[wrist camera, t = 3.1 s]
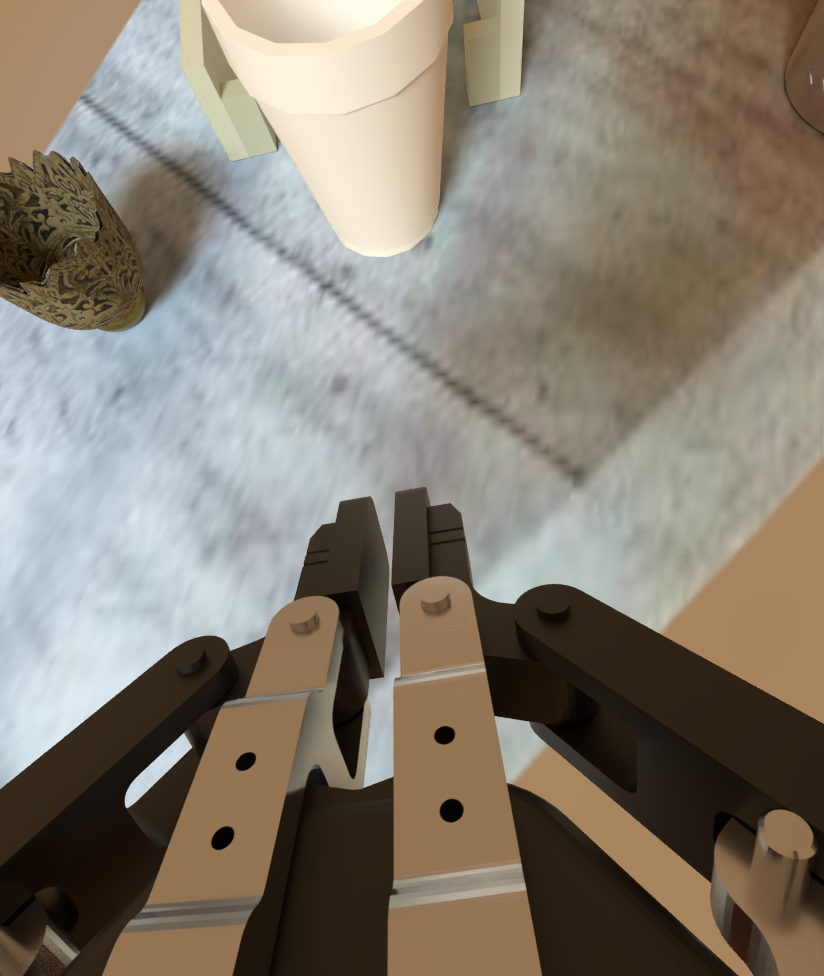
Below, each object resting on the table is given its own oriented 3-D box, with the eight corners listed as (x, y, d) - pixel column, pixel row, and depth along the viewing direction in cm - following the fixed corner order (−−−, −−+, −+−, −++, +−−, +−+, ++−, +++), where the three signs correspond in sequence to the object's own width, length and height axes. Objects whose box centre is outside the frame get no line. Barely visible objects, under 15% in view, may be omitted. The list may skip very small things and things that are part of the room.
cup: (89, 249, 36) (-19, 142, 28) (197, 261, 35) (114, 152, 27) (47, 358, 34) (-81, 275, 27) (159, 375, 33) (58, 292, 25)
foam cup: (390, 118, 36) (335, -165, 23) (500, 201, 33) (504, -68, 21) (274, 218, 35) (153, -19, 22) (377, 311, 32) (304, 101, 20)
